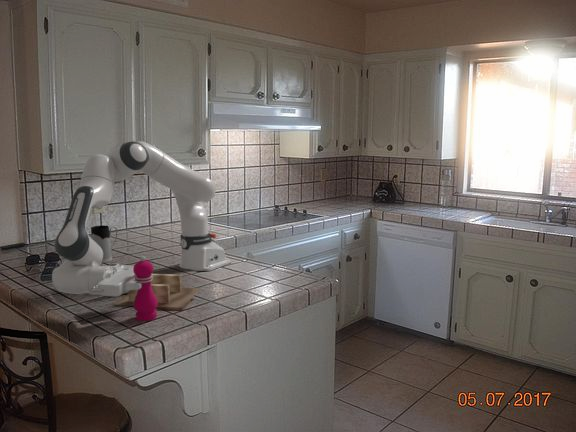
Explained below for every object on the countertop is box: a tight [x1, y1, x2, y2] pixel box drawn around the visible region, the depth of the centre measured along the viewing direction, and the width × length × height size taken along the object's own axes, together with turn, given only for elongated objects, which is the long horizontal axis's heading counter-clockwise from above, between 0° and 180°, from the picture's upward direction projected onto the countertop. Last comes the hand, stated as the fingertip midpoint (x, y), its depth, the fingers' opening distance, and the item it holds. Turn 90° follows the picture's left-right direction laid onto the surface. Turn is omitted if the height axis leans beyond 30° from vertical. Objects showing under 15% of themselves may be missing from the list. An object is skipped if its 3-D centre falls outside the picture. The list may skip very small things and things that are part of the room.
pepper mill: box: [133, 255, 158, 322], centre depth 165 cm, size 7×7×20 cm
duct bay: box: [112, 273, 202, 311], centre depth 183 cm, size 24×20×7 cm
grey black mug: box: [90, 224, 119, 263], centre depth 237 cm, size 9×14×15 cm, turn 152°
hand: (146, 281), depth 164 cm, fingers open, 8 cm apart
